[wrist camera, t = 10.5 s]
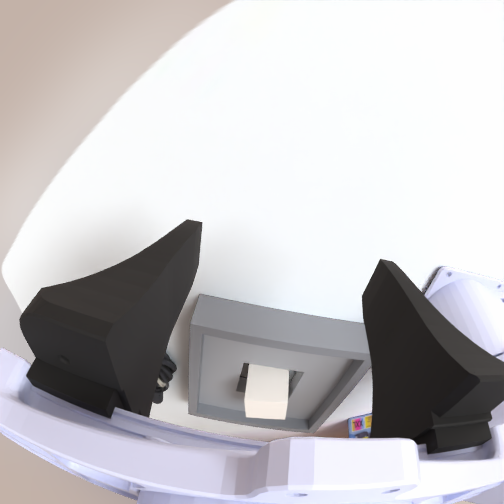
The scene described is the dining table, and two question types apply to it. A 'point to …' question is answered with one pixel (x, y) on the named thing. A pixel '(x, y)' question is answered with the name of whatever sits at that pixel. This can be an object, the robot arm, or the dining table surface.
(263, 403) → the white rectangular block
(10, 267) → the dining table surface
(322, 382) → the walled box
